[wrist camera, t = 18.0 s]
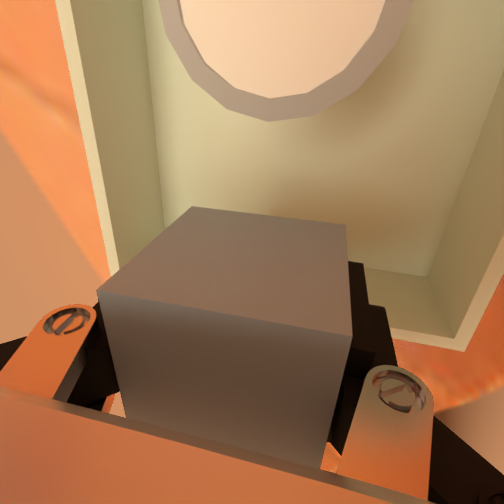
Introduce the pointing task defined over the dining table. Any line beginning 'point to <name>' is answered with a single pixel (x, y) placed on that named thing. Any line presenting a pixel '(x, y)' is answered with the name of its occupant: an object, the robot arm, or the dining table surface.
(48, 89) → the dining table surface
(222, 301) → the cube
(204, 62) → the shot glass
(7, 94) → the dining table surface
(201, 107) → the tote
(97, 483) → the robot arm
